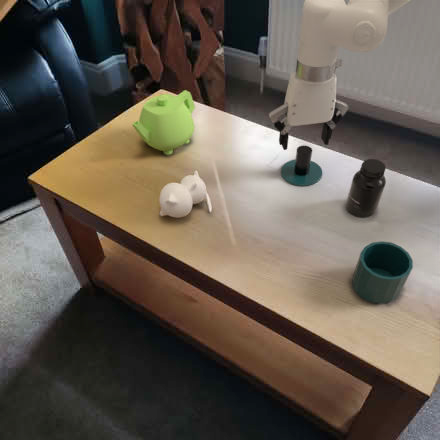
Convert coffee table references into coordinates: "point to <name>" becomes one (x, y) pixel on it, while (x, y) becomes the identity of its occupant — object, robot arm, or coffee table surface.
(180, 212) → the cat figurine
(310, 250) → the coffee table surface
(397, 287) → the tin
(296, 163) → the lid
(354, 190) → the supplement bottle
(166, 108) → the teapot
